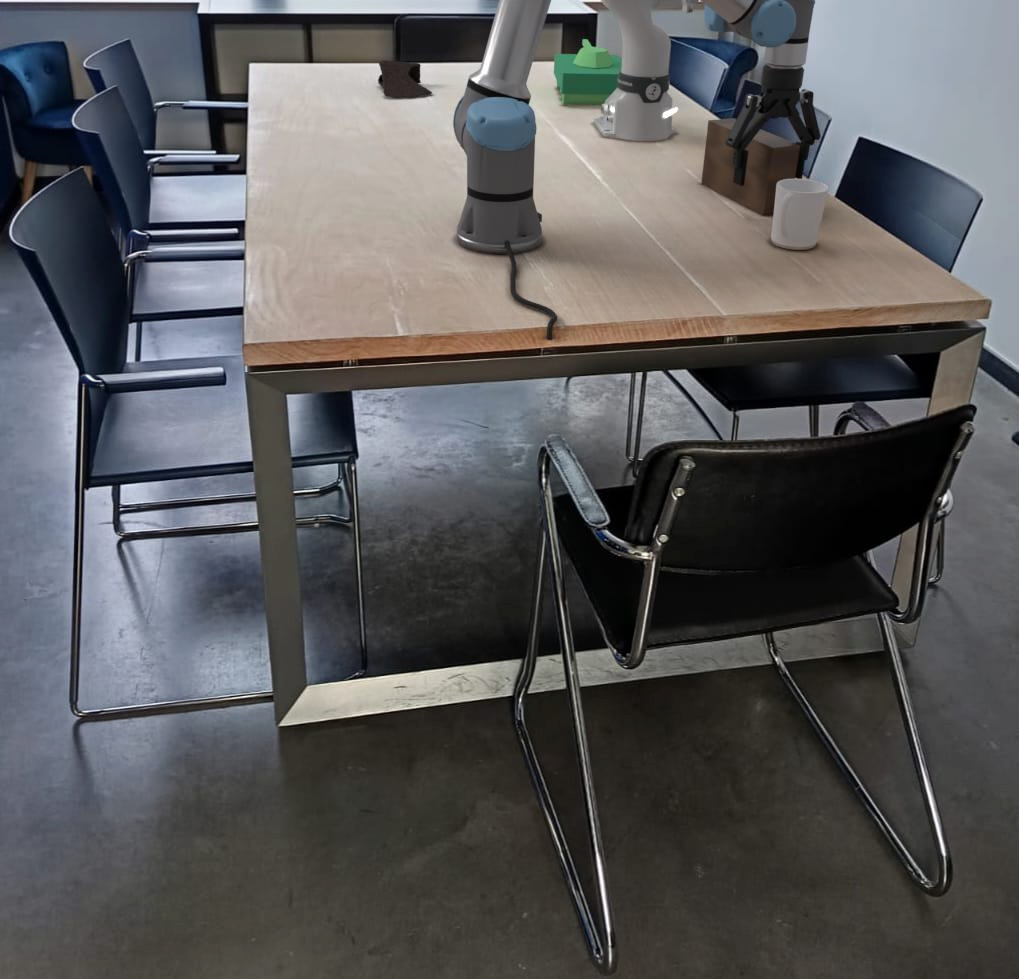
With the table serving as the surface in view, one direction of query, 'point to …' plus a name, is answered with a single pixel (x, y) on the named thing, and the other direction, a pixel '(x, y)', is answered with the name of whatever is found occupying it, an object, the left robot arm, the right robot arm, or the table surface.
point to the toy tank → (587, 75)
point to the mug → (798, 213)
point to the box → (748, 166)
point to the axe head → (401, 79)
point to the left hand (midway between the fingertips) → (767, 180)
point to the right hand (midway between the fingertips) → (707, 11)
